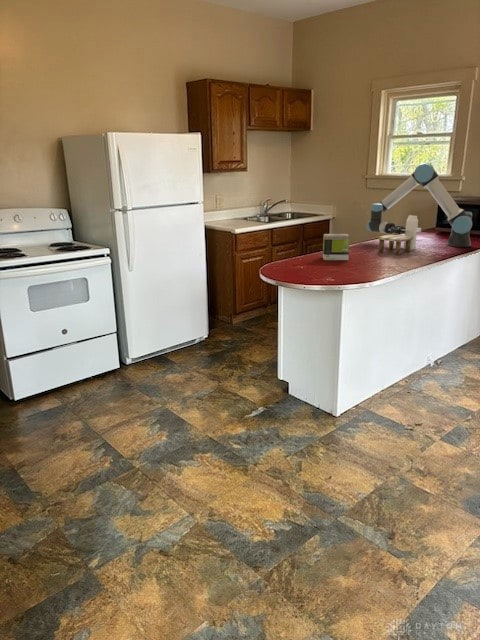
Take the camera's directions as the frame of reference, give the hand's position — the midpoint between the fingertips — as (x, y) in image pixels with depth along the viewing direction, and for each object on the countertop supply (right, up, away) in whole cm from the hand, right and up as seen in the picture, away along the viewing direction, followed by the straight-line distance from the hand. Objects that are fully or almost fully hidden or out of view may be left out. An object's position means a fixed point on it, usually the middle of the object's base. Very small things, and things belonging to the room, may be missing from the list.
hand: (415, 231), depth 327 cm
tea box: (-58, -22, -25) cm, 67 cm away
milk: (-2, -11, +6) cm, 13 cm away
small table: (-16, -15, -6) cm, 23 cm away
